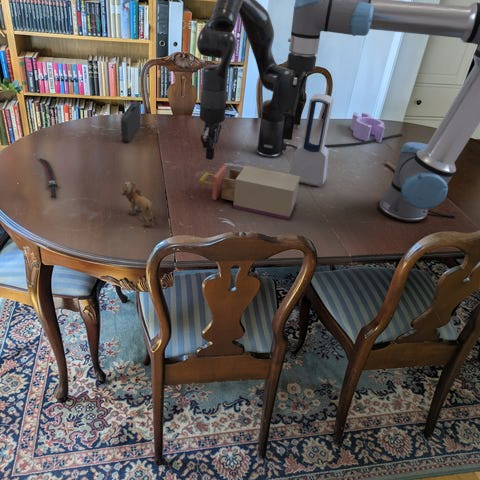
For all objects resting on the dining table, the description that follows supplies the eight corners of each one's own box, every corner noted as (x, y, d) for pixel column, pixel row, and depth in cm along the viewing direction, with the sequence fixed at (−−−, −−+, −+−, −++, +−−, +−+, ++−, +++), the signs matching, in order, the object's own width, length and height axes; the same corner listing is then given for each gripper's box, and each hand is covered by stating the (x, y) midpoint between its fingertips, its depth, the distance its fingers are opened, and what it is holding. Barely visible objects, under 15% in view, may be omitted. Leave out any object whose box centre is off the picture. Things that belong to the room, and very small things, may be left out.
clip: (343, 126, 223) (346, 112, 219) (367, 127, 225) (371, 113, 221) (360, 142, 206) (364, 127, 202) (386, 142, 209) (390, 127, 205)
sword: (61, 197, 141) (61, 193, 140) (50, 198, 139) (50, 194, 139) (49, 160, 164) (48, 156, 163) (39, 160, 163) (39, 157, 162)
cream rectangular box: (232, 207, 146) (235, 179, 141) (242, 192, 155) (245, 165, 150) (288, 219, 143) (293, 191, 137) (295, 203, 152) (300, 176, 147)
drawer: (195, 195, 148) (196, 173, 144) (206, 183, 156) (207, 161, 152) (262, 210, 144) (265, 187, 140) (269, 196, 152) (272, 174, 148)
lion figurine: (118, 210, 138) (116, 182, 133) (132, 204, 141) (131, 177, 137) (151, 229, 130) (150, 201, 126) (165, 223, 134) (165, 195, 129)
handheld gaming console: (134, 123, 200) (133, 100, 195) (140, 124, 200) (140, 100, 195) (121, 142, 181) (119, 117, 175) (128, 143, 181) (127, 118, 175)
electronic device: (325, 180, 169) (342, 97, 152) (321, 188, 163) (339, 103, 146) (292, 173, 172) (306, 91, 155) (287, 181, 165) (301, 96, 149)
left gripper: (208, 96, 143) (205, 149, 152) (193, 107, 132) (190, 164, 141) (231, 100, 141) (227, 153, 151) (218, 112, 130) (214, 169, 140)
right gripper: (296, 44, 134) (286, 116, 145) (279, 60, 113) (269, 143, 125) (322, 47, 132) (310, 120, 144) (309, 64, 112) (296, 148, 123)
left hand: (209, 158), depth 146 cm, fingers closed
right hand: (291, 131), depth 134 cm, fingers open, 13 cm apart
